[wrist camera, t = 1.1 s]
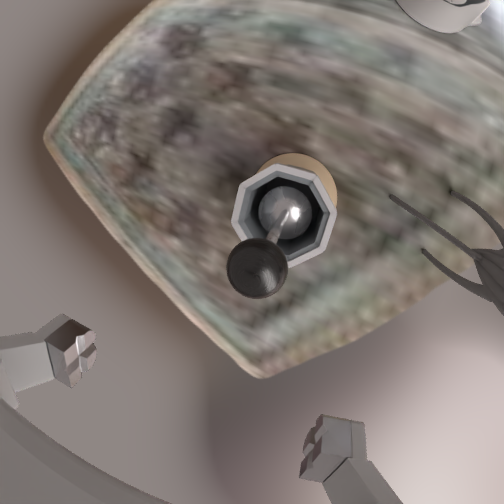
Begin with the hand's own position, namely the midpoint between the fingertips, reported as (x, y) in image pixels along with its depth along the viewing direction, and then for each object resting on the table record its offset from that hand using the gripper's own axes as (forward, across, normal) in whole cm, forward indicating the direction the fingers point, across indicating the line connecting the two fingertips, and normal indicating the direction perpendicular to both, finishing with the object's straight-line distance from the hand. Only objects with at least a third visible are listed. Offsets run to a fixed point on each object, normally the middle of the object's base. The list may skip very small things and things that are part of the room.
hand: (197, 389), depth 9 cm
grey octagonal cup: (+39, 0, 0) cm, 39 cm away
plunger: (+28, 0, 0) cm, 28 cm away
